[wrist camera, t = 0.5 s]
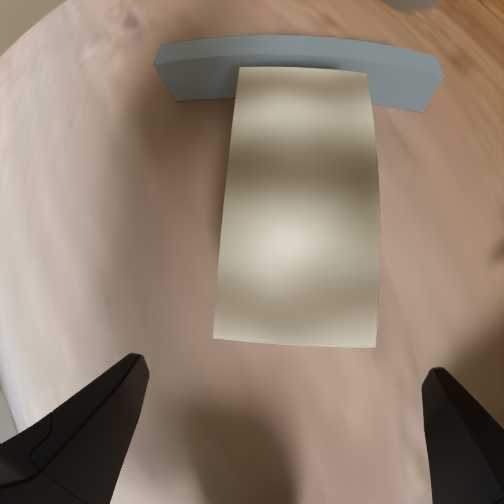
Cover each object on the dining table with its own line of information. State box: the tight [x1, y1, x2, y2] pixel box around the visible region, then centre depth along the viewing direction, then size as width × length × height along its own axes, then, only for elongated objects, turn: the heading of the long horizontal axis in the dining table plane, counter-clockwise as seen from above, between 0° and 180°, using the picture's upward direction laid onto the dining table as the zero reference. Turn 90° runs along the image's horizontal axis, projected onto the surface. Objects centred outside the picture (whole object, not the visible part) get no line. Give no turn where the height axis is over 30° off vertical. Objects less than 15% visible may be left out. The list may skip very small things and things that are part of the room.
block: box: [213, 67, 381, 347], centre depth 20 cm, size 16×8×9 cm, turn 176°
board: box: [154, 35, 444, 113], centre depth 23 cm, size 2×24×6 cm, turn 86°
